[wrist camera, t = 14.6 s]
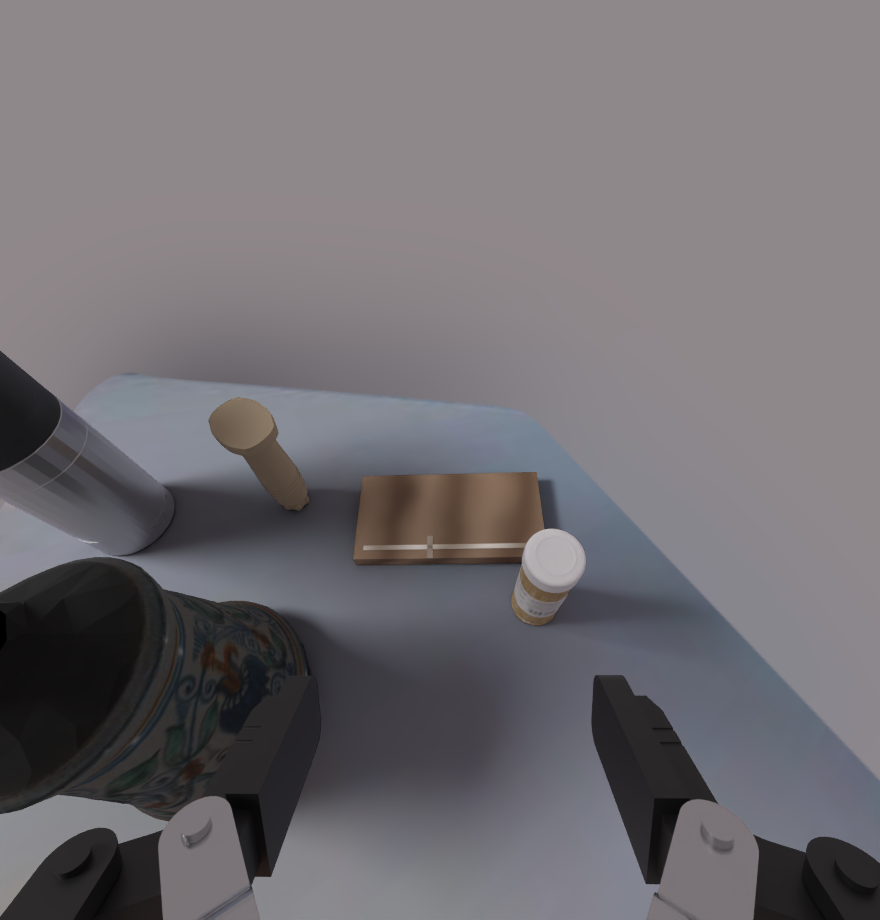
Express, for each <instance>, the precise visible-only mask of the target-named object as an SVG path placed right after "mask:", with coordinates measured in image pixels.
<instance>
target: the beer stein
mask: <svg viewBox="0 0 880 920" xmlns="http://www.w3.org/2000/svg"><path fill="white" fill-rule="evenodd" d="M288 676H311V673H310V669H309V665H308V661H307V658H306V654H305V650H304V646H303V645H302V644H301V642H300V641H299V638H298V636H297V635H296V633H295V631H294V629H293V628H292V627H291V625H290V624H289V623H288V622H287V621H286V620H285V619H284V618H283V617H282V616H281V615H280V614H278V613H277V612H275V611H273V610H272V609H270V608H268V607H267V606H263V605H260V604H256V603H253V602H246V601H227V602H220V603H216V602H214V601H209V600H206V599H202V598H197V597H194V596H189V595H185V594H182V593H177V592H173V591H168V590H164V589H162V587H161V586H160V585H159V584H158V583H157V582H156V581H155V580H154V579H153V578H152V577H151V576H150V575H149V574H148V573H147V572H146V571H144V570H143V569H142V568H141V567H139V566H137V565H135V564H133V563H130V562H127V561H124V560H121V559H116V558H109V557H94V558H88V559H81V560H75V561H72V562H68V563H65V564H62V565H59V566H56V567H54V568H51V569H48V570H46V571H44V572H41V573H39V574H37V575H34V576H32V577H30V578H27V579H25V580H23V581H21V582H19V583H18V584H16V585H14V586H12V587H10V588H8V589H6V590H4V591H2V592H0V814H3V813H10V812H14V811H18V810H22V809H24V808H27V807H29V806H31V805H34V804H36V803H39V802H41V801H43V800H46V799H48V798H51V797H53V796H55V795H66V796H76V797H83V798H89V799H94V800H103V801H110V802H117V803H122V804H130V805H133V806H134V807H136V808H137V809H138V810H140V811H142V812H143V813H145V814H147V815H149V816H152V817H154V818H157V819H160V820H165V821H170V820H171V819H172V817H173V816H174V815H175V814H176V813H178V812H179V811H180V810H181V809H182V808H184V807H185V806H187V805H188V804H190V803H192V802H194V801H196V800H198V799H200V798H201V797H202V795H203V794H204V792H205V790H206V788H207V787H208V785H209V783H210V782H211V780H212V778H213V776H214V775H215V773H216V771H217V769H218V768H219V766H220V764H221V763H222V761H223V759H224V757H225V756H226V754H227V752H228V751H229V749H230V747H231V745H232V744H234V741H235V738H236V737H237V735H238V733H239V732H240V730H242V726H243V725H244V723H245V721H246V719H247V718H248V716H249V714H250V713H251V711H252V709H254V708H255V707H256V706H257V705H258V704H259V703H260V702H261V701H262V700H263V699H264V698H265V697H267V696H277V695H278V693H279V691H280V689H281V687H282V685H283V684H284V682H285V680H286V678H287V677H288Z"/></svg>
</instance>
